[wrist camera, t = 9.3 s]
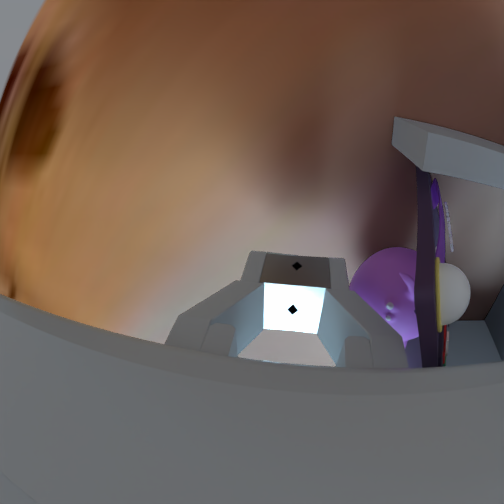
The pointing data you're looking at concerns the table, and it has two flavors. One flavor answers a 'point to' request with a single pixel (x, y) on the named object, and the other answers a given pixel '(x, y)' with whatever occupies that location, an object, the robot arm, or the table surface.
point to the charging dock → (473, 169)
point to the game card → (418, 280)
